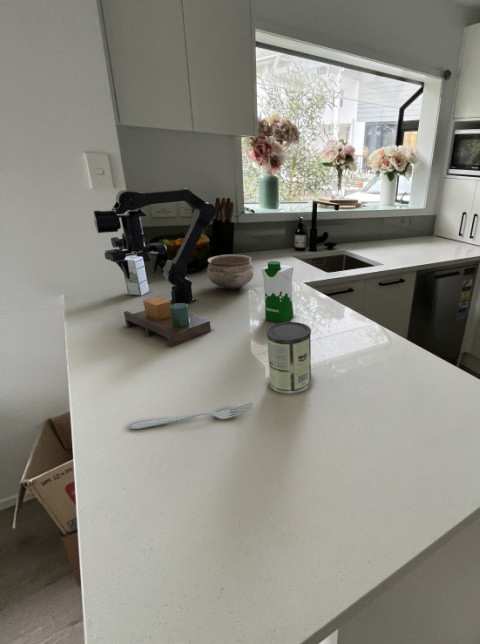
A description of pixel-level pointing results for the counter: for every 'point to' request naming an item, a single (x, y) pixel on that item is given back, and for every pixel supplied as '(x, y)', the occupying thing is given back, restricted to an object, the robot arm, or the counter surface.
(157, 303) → the kraft box
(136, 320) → the shelf
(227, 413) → the fork
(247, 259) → the cooking pot
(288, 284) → the milk carton
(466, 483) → the counter surface
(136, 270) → the syrup box
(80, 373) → the counter surface
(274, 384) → the coffee can
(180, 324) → the tea tin
